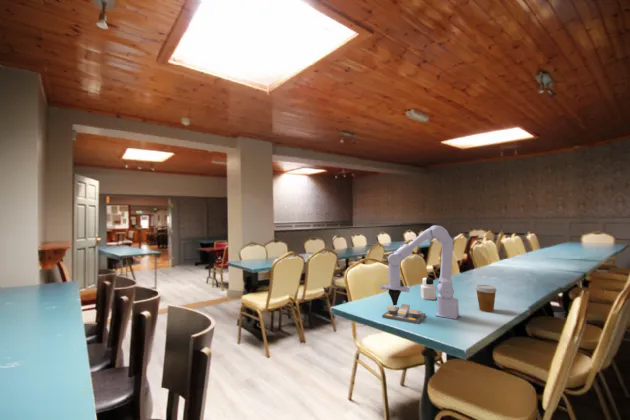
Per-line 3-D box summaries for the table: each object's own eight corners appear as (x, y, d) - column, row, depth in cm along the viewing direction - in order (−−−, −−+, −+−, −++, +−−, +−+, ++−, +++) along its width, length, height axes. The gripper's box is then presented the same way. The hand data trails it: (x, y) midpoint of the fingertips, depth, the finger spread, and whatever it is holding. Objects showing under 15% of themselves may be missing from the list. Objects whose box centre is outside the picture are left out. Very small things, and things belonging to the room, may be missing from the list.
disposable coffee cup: (499, 309, 159) (498, 286, 159) (494, 314, 152) (493, 289, 152) (479, 306, 165) (478, 283, 166) (473, 310, 159) (472, 287, 159)
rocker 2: (410, 307, 153) (409, 304, 153) (405, 316, 147) (404, 313, 146) (402, 306, 155) (402, 303, 155) (397, 315, 149) (397, 312, 148)
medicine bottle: (432, 296, 187) (432, 276, 187) (436, 299, 180) (435, 279, 180) (420, 296, 187) (420, 276, 188) (423, 299, 180) (423, 279, 181)
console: (425, 315, 151) (425, 311, 151) (418, 323, 141) (417, 319, 141) (391, 310, 161) (391, 306, 161) (382, 317, 150) (382, 313, 150)
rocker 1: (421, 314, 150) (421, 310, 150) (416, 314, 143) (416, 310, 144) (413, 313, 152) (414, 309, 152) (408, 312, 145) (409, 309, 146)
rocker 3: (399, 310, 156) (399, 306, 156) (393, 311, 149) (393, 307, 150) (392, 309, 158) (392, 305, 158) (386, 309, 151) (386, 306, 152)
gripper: (411, 277, 156) (411, 304, 156) (383, 275, 164) (384, 301, 164) (406, 280, 150) (407, 308, 150) (378, 277, 158) (379, 304, 158)
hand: (395, 304), depth 156 cm, fingers closed
